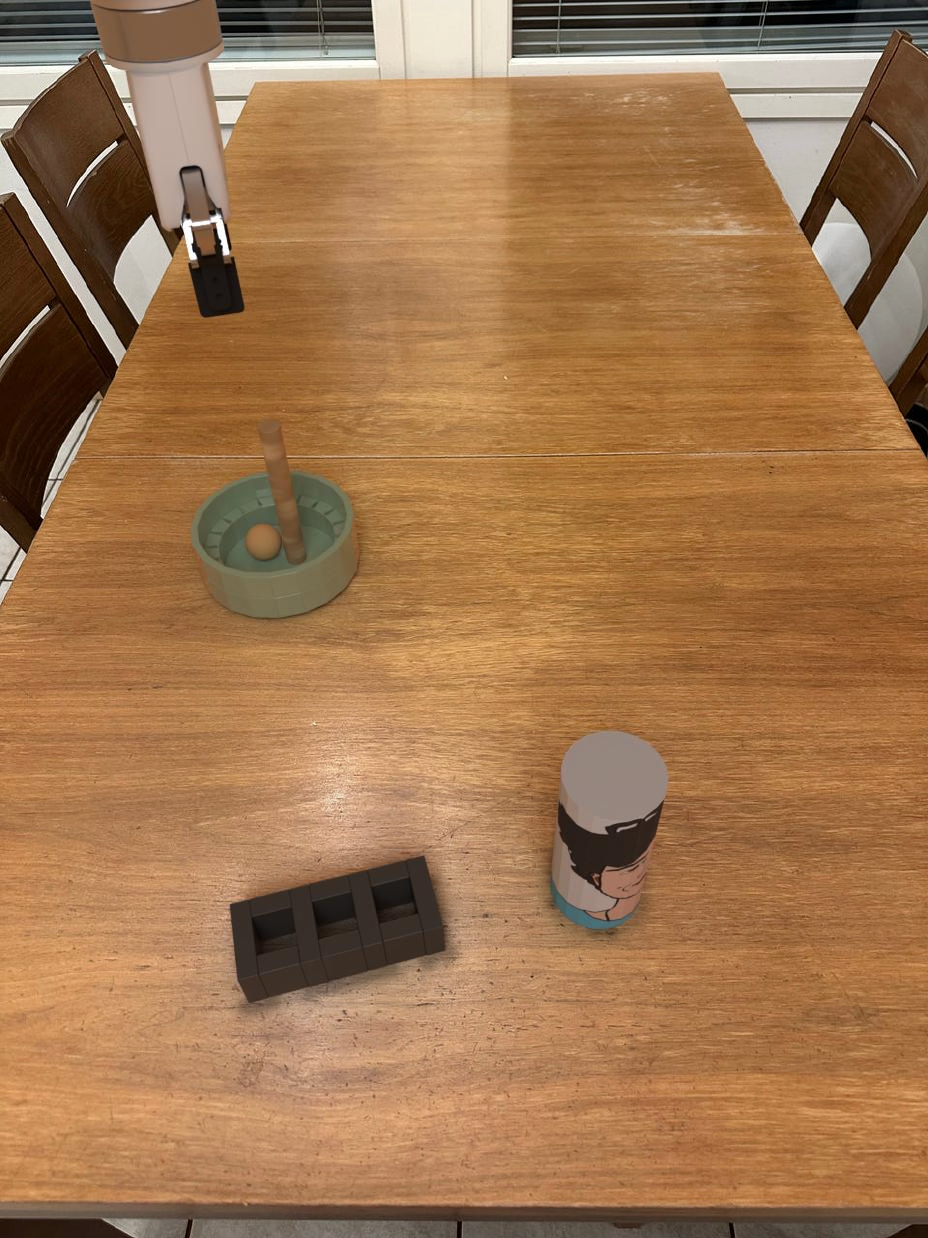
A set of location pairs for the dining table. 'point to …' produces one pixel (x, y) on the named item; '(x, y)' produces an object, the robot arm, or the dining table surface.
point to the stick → (282, 490)
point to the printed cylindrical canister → (605, 826)
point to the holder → (342, 951)
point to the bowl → (275, 580)
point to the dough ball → (263, 541)
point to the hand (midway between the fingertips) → (217, 281)
